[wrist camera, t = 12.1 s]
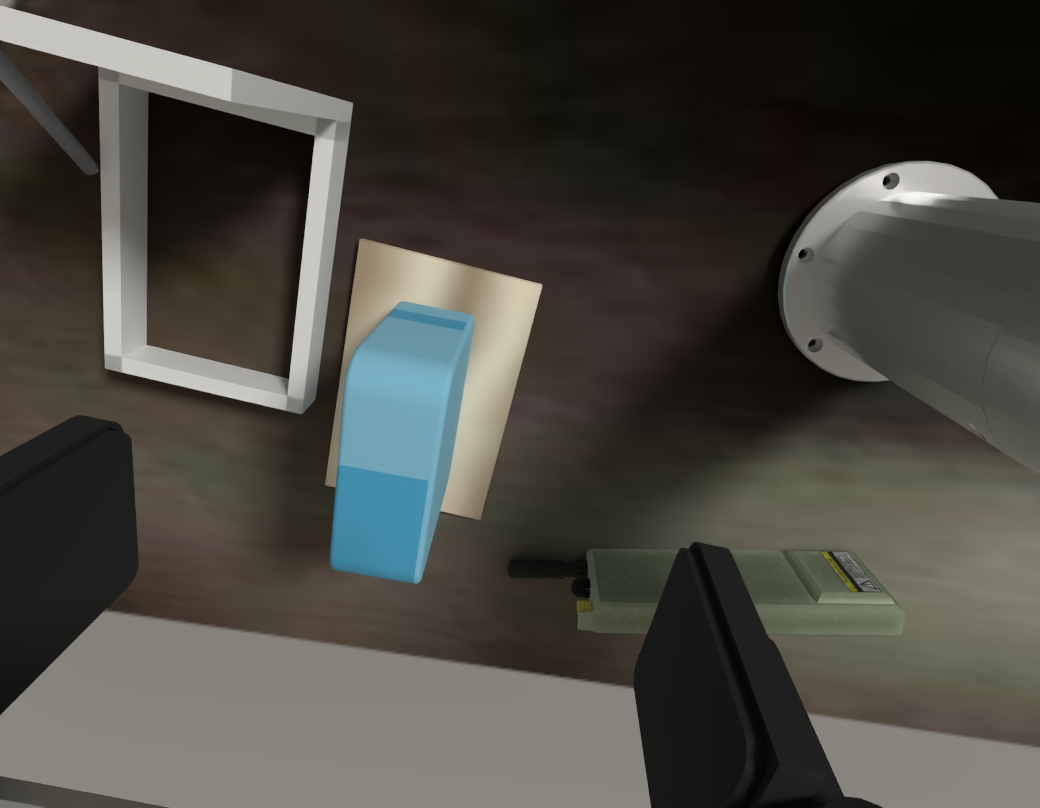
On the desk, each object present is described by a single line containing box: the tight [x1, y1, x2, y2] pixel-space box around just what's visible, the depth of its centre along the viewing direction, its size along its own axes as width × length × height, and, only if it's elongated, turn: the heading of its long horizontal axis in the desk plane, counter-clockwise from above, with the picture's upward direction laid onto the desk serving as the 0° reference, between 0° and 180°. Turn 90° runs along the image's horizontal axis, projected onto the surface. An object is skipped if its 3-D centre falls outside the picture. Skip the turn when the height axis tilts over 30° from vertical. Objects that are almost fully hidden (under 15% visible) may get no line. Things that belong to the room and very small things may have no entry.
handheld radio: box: [508, 549, 906, 637], centre depth 41 cm, size 7×3×25 cm
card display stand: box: [0, 6, 353, 414], centre depth 29 cm, size 13×18×14 cm
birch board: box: [325, 238, 542, 520], centre depth 39 cm, size 11×17×1 cm, turn 166°
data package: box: [330, 301, 475, 584], centre depth 33 cm, size 12×4×12 cm, turn 169°
